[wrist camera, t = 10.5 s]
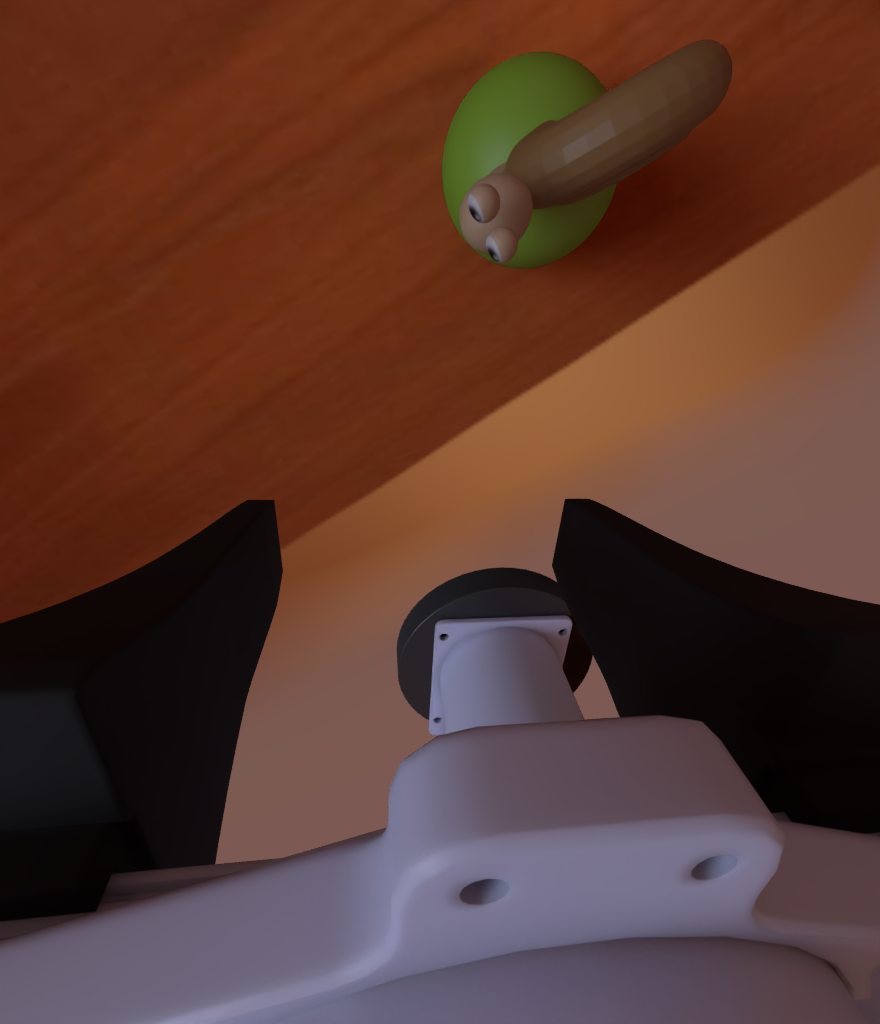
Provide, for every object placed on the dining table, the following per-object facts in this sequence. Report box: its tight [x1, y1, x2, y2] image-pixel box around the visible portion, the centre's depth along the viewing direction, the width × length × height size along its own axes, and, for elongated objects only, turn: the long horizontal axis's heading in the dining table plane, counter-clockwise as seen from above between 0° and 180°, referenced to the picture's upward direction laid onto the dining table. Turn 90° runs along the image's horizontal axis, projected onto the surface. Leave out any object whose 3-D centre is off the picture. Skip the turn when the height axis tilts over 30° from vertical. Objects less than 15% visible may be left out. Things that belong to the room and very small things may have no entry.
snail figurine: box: [442, 40, 732, 269], centre depth 12 cm, size 5×6×12 cm
